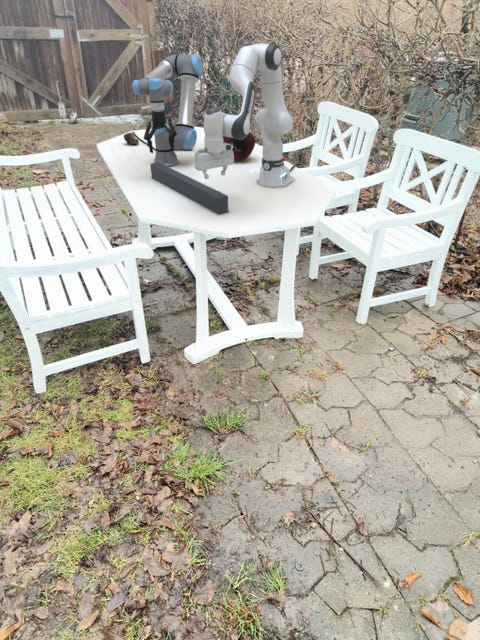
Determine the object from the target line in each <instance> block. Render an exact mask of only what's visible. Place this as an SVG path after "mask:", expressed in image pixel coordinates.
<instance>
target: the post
mask: <svg viewBox="0 0 480 640" xmlns="http://www.w3.org/2000/svg"><path fill="white" fill-rule="evenodd" d="M149 166H150V174H151V178H152V179H153V180H155V181H157V182H158V183H161V184H162V185H164V186H167V187H168V188H170V189H172V190H173V191H174V192H177V193H179V194H180V195H183V196H184V197H186V198H188V199H190V200H192V201H193V202H195V203H197V204H199V205H201V206H202V207H204V208H206V209H208V210H210V211H212V212H213V213H216V214H217V215H223V214H226V213H229V195H227V194H225V193H223V192H221V191H218V190H217V189H214V188H212V187H211V186H208V185H207V184H205V183H202V182H200V181H198V180H196V179H194V178H193V177H190V176H187V175H186V174H184V173H182V172H179V171H177V170H175V169H173V168H171V167H170V166H168V167H167V166H165V165H163V164H161V163H159V162H158V163H155V162H154V163H150V164H149Z"/></svg>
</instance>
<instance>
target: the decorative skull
mask: <svg viewBox="0 0 480 640" xmlns="http://www.w3.org/2000/svg"><path fill="white" fill-rule="evenodd" d="M223 142H225V143H228V144H231V145H233V149H232V151H233V153H234V162H242V161H244V160H246V159H248V158H249V157H250V156H251V155H252V153H253V151H254V149H255V147H256V142H257V141H256V137H255V135H254V134H253V133H251V131H250V132H249V134H248V135H247V137H245V138H244V139H242V140H239V139H236V138H232V137H226V136H223Z"/></svg>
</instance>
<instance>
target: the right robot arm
mask: <svg viewBox="0 0 480 640" xmlns="http://www.w3.org/2000/svg"><path fill="white" fill-rule="evenodd" d="M282 60H283V52H282V49H281V47H280V46H279V45H278V44H276V43H263V42H262V43H261V42H260V43H255V44H246V45H244V46H242V47H240V49H239V51H238V52H237V54H236V56H235V58H234V61H233V62H232V64H231V65H232V66H231V68H230V71H229V75H228V80H229V83H230V86H231V87H232V88H233V89H234V90H235V91H236V92H237V93H238V94H239V95H242V102H241V108H240V113H239V114H229V113H225V112H223V111H222V109H221V108H219V107H210V108H208V109H206V110H205V111H204V115H203V132H204V139H203V140H204V148H199V149H197V150H196V151H194V168H195V169H196V170H197V171H198V172H199V171H201V172H202V174H203V177H204V179H205V180H208V179H210V175H209V174H208V173H207V172H208V170H211V169H216V168H221V167H222V170H221V171H220V176H222V177H223V176H226V171H227V170H228V166H232V165H233V164H234V163H235V161H234V153H233V151H232V149H233V145H231V144H228V143H225V142H223V136H226V137H232V138H236V139H239V140H242V139H244V138H245V137H247V135H248V134H249V132H250V133H251V125H252V115H253V110H254V106H255V105H254V104H255V100H256V91H257V90H256V84H255V83H254V79H255V78H254V77H255V75H256V71H260V72H259V80H260V94H261V95H260V96H261V101H262V102H263V103H264V105H265V108H260V109H258V111H257V112H256V114H255V116H254V121H255V124H256V126H257V128H258V130H259V133H260V136H261V137H260V138H261V142H262V157H261V166H260V169H259V178H258V179H257V182H259V185H261V186H262V187H266V188H278V187H280V188H281V187H282V188H283V187H284V188H285V187H287V186H288V185H290V184H291V183H292V182H293V181H294V179H295V178H294V177H293V176H291V171H292V170H293V169H294V168H295V167H296V166H298V167H299V166H301V164H300V163H295V164H294V165H293V166H291V168H290V169H289V167H287V165H285V162H286V161H287V160H288V159H287V157H284V156H283V153H284V151H283V150H284V143H283V141H282V139H281V137H280V135H287V134H289V133H290V132H291V131H292V130H293V127H294V118H293V117H292V115H291V114H290V112H289V111H288V107H287V105H286V102H285V97H284V89H283V88H284V87H283V73H282V68H281V63H282ZM255 171H256V169H255V168H253V169H251V170H250V171H248V172H249V174H251V173H253V172H255Z"/></svg>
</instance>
